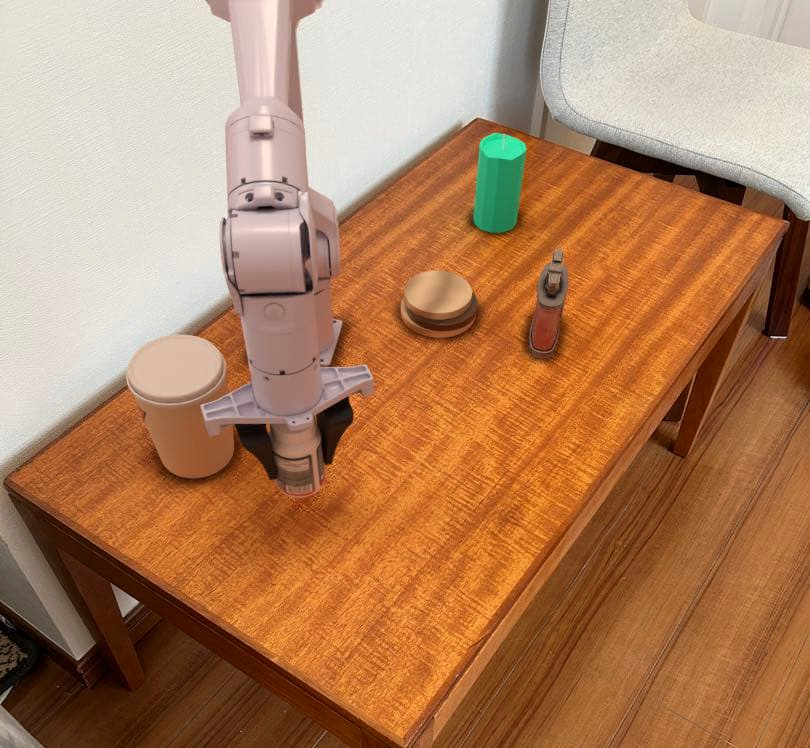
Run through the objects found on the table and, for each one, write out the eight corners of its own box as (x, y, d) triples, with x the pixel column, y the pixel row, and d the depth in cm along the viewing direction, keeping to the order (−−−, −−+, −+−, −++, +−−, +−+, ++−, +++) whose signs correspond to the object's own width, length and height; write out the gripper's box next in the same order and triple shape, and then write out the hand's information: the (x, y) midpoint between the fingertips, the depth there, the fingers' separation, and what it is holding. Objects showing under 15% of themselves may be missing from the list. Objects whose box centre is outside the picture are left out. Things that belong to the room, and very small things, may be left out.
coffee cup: (169, 414, 92) (144, 326, 83) (252, 425, 92) (236, 338, 82) (139, 478, 87) (109, 392, 77) (228, 490, 86) (208, 405, 77)
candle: (466, 211, 117) (473, 125, 107) (507, 204, 118) (517, 118, 108) (482, 236, 113) (490, 149, 104) (523, 228, 114) (535, 142, 105)
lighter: (554, 360, 99) (569, 288, 91) (525, 355, 99) (537, 284, 91) (560, 316, 103) (575, 244, 95) (533, 312, 104) (545, 241, 96)
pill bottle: (299, 453, 82) (291, 390, 75) (335, 477, 80) (330, 414, 73) (264, 482, 80) (253, 419, 73) (301, 507, 78) (292, 445, 71)
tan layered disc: (394, 333, 101) (395, 312, 99) (406, 286, 107) (407, 265, 104) (472, 342, 100) (474, 321, 98) (480, 294, 106) (482, 273, 103)
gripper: (204, 406, 63) (231, 518, 74) (386, 361, 67) (386, 474, 78) (184, 347, 67) (212, 461, 78) (356, 307, 71) (361, 422, 81)
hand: (297, 464), depth 78 cm, fingers closed on pill bottle, 5 cm apart
